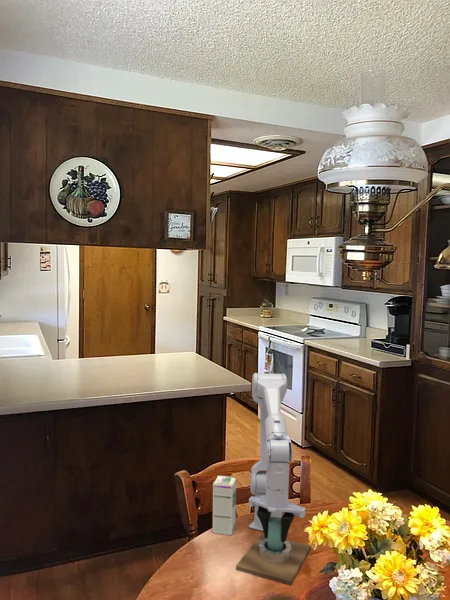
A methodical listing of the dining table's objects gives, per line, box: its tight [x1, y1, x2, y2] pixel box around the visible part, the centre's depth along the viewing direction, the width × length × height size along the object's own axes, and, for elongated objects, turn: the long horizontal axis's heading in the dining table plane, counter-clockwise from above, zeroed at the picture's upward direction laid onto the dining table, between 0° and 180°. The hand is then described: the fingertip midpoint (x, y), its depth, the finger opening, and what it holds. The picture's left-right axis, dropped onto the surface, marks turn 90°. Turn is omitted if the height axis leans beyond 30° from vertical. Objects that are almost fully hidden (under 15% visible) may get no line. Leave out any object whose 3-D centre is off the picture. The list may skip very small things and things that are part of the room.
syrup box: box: [212, 475, 237, 536], centre depth 146 cm, size 6×6×14 cm
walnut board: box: [235, 533, 312, 586], centre depth 132 cm, size 18×14×1 cm
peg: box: [267, 517, 283, 552], centre depth 131 cm, size 4×4×8 cm
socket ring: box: [259, 538, 292, 564], centre depth 132 cm, size 8×8×2 cm
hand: (275, 538), depth 132 cm, fingers closed on peg, 4 cm apart
